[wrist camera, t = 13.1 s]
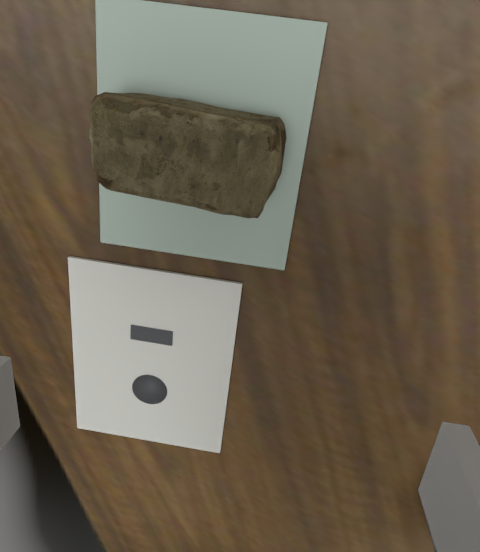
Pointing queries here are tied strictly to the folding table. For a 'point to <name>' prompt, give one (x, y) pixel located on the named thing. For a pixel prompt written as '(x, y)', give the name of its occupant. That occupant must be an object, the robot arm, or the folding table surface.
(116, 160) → the stone block
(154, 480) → the folding table surface
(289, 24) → the sage pad
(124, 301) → the board
